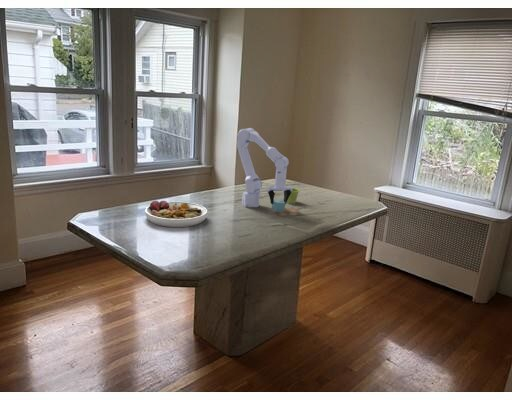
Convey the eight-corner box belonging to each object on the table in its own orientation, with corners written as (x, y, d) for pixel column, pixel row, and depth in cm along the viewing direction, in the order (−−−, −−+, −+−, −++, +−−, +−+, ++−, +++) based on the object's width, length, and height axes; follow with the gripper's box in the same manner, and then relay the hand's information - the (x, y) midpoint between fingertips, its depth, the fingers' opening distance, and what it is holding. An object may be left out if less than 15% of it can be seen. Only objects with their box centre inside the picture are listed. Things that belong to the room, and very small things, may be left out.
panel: (277, 217, 223) (277, 215, 223) (268, 210, 235) (268, 208, 234) (303, 216, 228) (303, 214, 228) (293, 209, 240) (293, 207, 239)
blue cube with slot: (275, 211, 229) (276, 202, 227) (271, 208, 234) (272, 199, 232) (284, 211, 230) (285, 202, 229) (280, 208, 235) (281, 199, 234)
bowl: (215, 215, 220) (216, 201, 218) (192, 233, 192) (192, 216, 190) (163, 207, 228) (163, 193, 226) (133, 223, 200) (133, 207, 198)
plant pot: (298, 206, 246) (299, 192, 244) (282, 205, 246) (283, 191, 244) (297, 202, 255) (298, 188, 253) (281, 201, 255) (283, 187, 253)
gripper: (270, 181, 221) (268, 206, 225) (295, 180, 226) (293, 205, 230) (265, 178, 228) (264, 202, 231) (290, 178, 233) (288, 201, 236)
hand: (278, 203), depth 231 cm, fingers open, 7 cm apart
